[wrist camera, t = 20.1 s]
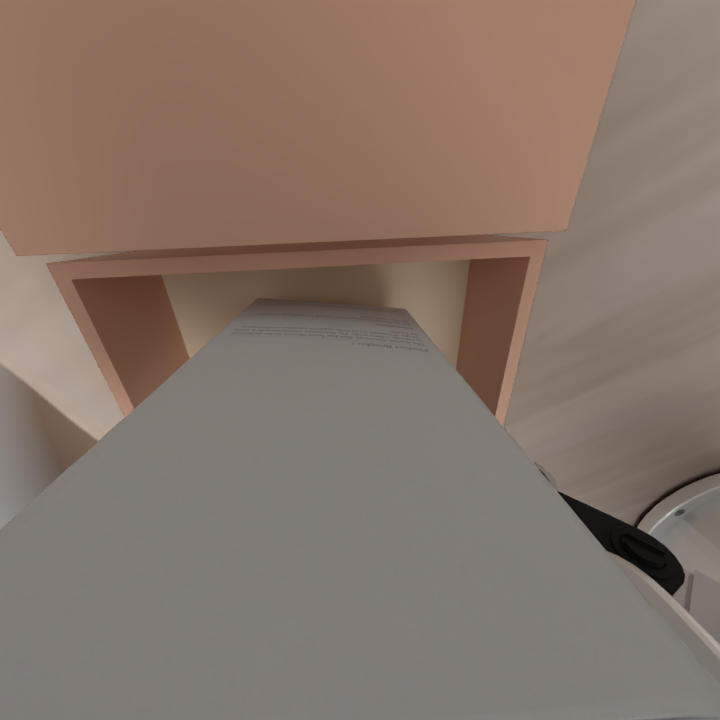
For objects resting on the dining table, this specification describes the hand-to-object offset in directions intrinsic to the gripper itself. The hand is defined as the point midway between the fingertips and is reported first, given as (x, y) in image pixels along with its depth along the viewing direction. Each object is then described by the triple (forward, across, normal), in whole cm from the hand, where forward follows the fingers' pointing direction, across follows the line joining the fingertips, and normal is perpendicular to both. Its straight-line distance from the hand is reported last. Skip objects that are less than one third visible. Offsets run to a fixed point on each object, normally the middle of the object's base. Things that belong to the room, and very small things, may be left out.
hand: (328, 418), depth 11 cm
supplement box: (+4, 0, 0) cm, 4 cm away
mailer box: (+6, 0, 0) cm, 6 cm away
